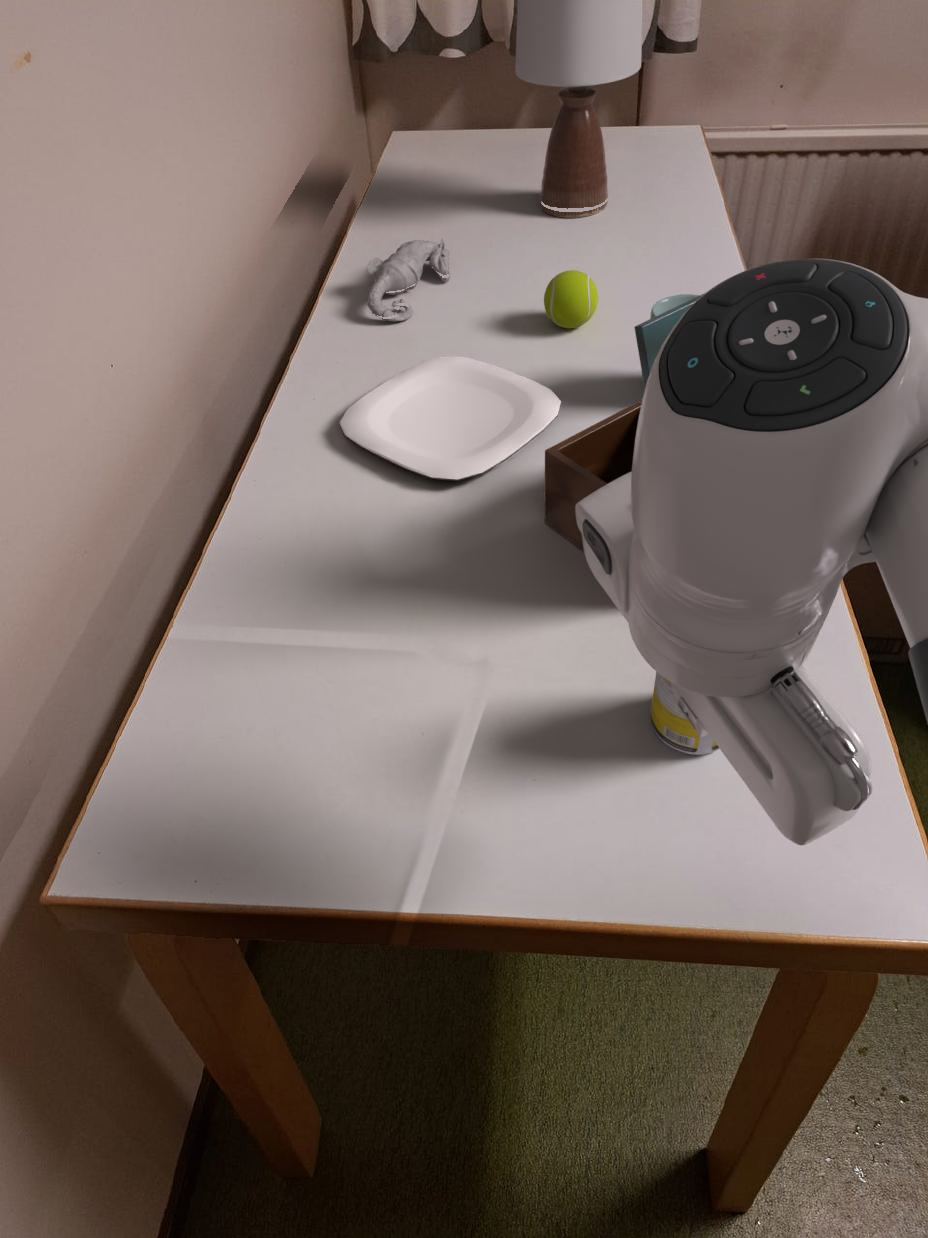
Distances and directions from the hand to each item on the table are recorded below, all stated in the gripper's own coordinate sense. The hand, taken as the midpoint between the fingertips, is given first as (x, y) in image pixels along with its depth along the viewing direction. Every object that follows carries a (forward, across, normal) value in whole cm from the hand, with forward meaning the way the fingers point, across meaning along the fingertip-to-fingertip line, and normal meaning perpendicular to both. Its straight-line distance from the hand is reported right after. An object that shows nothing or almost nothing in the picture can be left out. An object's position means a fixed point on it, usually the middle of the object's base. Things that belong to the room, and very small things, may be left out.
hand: (698, 713), depth 51 cm
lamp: (+40, +98, -46) cm, 115 cm away
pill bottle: (+15, +4, -4) cm, 16 cm away
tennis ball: (+30, +64, -26) cm, 75 cm away
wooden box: (+20, +24, -13) cm, 34 cm away
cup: (+27, +43, -29) cm, 59 cm away
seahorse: (+31, +84, -12) cm, 91 cm away
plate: (+24, +51, -4) cm, 57 cm away
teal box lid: (+3, +23, -17) cm, 28 cm away
